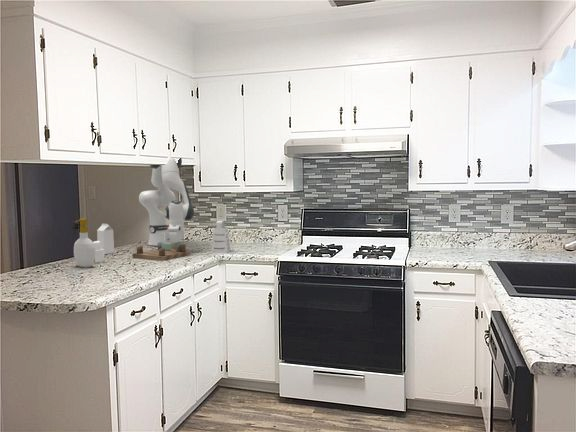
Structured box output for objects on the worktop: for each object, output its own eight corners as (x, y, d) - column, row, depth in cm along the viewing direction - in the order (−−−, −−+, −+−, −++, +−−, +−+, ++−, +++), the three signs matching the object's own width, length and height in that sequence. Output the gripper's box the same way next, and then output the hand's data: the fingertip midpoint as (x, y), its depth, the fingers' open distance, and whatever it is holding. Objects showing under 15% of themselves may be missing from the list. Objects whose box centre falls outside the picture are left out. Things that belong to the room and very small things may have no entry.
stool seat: (161, 252, 310) (161, 242, 309) (189, 255, 298) (189, 244, 297) (132, 257, 289) (132, 247, 288) (162, 261, 277) (161, 249, 277)
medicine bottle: (86, 262, 274) (85, 241, 273) (96, 260, 280) (95, 240, 279) (94, 263, 271) (94, 242, 270) (105, 261, 277) (104, 240, 276)
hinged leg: (156, 249, 305) (156, 242, 304) (161, 248, 308) (161, 242, 308) (176, 251, 296) (176, 244, 296) (181, 250, 300) (181, 243, 299)
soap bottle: (68, 266, 261) (66, 218, 259) (83, 264, 268) (81, 217, 266) (85, 269, 253) (83, 219, 251) (99, 266, 261) (98, 218, 259)
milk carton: (104, 254, 301) (103, 224, 300) (97, 253, 305) (96, 223, 304) (114, 253, 307) (113, 223, 305) (107, 252, 311) (106, 223, 310)
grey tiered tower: (230, 250, 317) (230, 220, 315) (227, 252, 307) (226, 221, 305) (215, 250, 318) (214, 220, 316) (211, 252, 308) (210, 221, 306)
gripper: (175, 224, 312) (176, 245, 313) (167, 228, 291) (167, 251, 293) (185, 224, 311) (185, 245, 313) (177, 228, 291) (178, 251, 293)
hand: (177, 248), depth 303 cm, fingers closed
